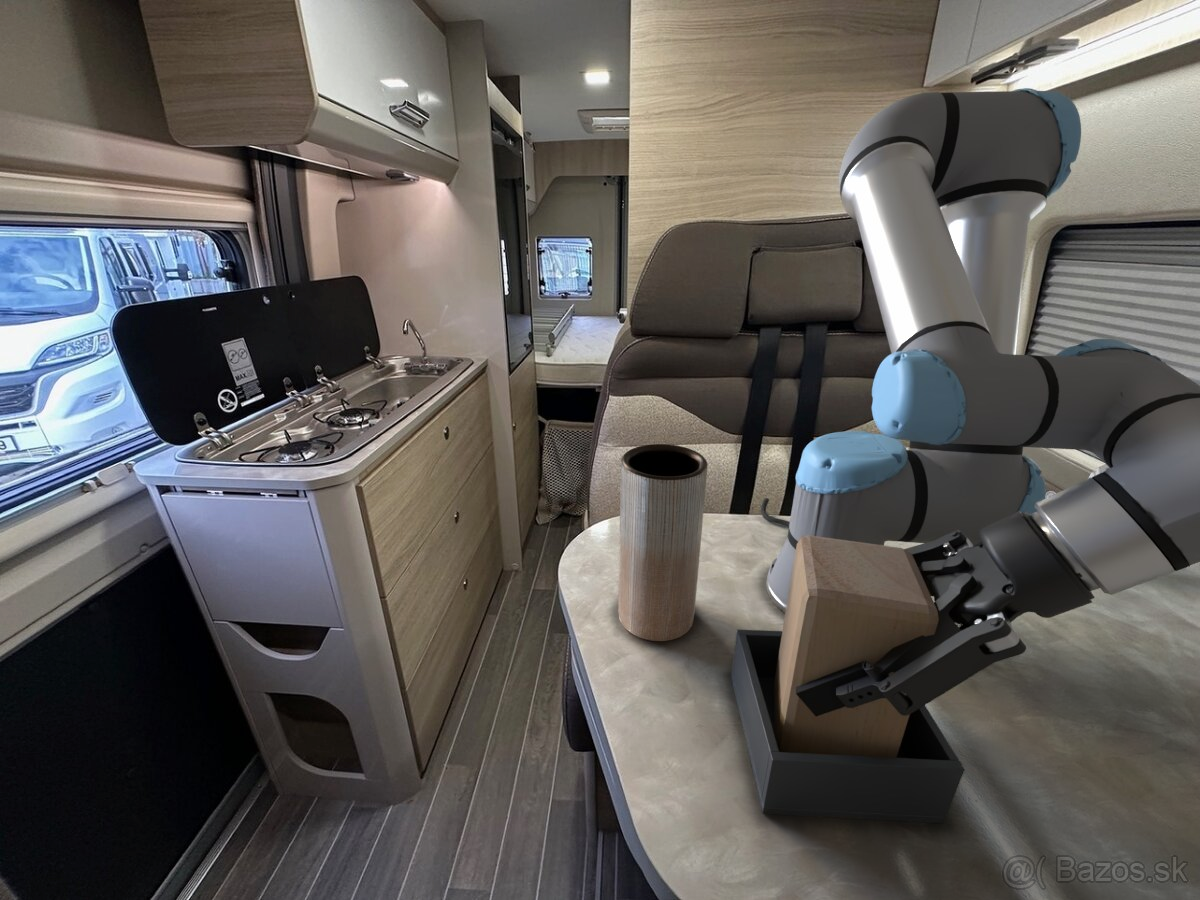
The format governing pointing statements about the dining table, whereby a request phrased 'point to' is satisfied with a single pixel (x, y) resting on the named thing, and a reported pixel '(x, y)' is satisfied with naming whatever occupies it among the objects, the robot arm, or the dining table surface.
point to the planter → (660, 539)
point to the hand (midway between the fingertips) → (806, 656)
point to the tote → (838, 756)
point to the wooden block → (846, 641)
